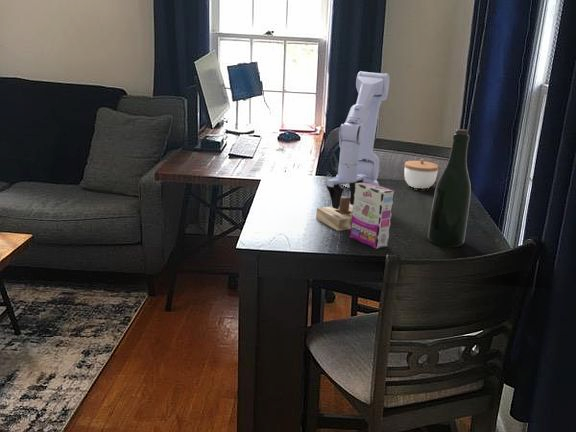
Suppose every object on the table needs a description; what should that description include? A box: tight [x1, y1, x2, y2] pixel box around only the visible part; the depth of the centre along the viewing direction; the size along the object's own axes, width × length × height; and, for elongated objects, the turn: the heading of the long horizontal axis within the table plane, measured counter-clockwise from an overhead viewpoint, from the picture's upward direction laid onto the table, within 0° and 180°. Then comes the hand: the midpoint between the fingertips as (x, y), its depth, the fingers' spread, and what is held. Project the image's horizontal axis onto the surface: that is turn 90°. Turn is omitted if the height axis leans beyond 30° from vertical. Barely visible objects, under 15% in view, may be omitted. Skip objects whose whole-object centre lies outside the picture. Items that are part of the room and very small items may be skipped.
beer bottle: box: [427, 128, 472, 248], centre depth 180 cm, size 10×10×33 cm
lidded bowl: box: [403, 158, 440, 189], centre depth 241 cm, size 13×13×11 cm
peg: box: [339, 195, 350, 215], centre depth 195 cm, size 3×3×8 cm
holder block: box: [315, 205, 353, 232], centre depth 196 cm, size 12×12×4 cm
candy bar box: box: [349, 182, 395, 250], centre depth 178 cm, size 11×5×16 cm, turn 37°
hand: (344, 206), depth 195 cm, fingers open, 7 cm apart
